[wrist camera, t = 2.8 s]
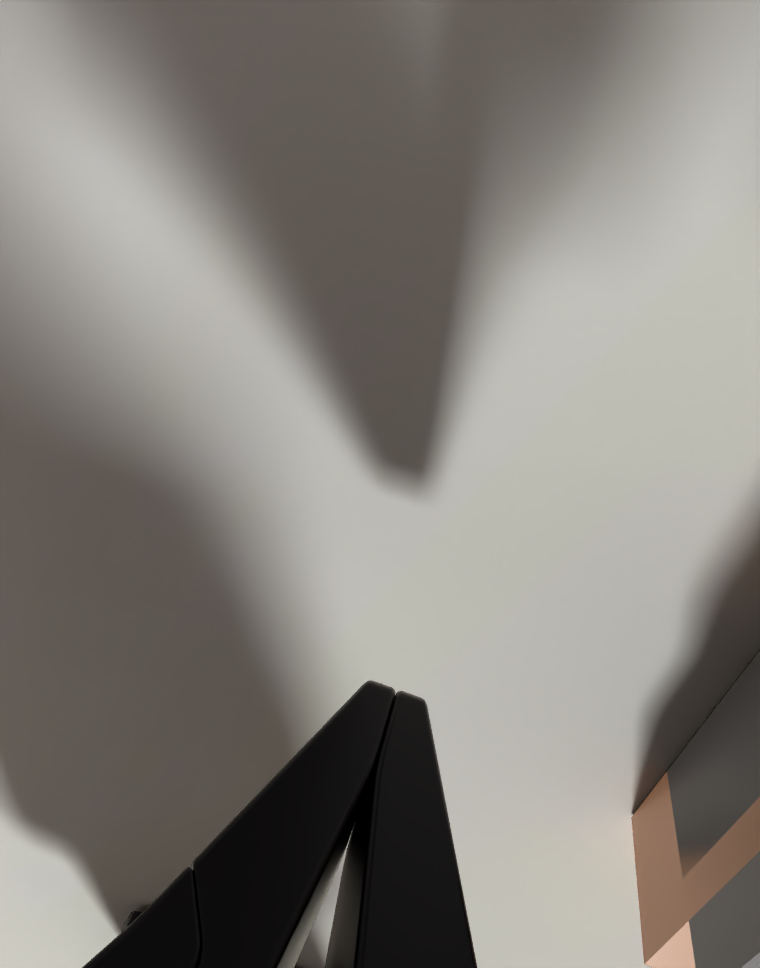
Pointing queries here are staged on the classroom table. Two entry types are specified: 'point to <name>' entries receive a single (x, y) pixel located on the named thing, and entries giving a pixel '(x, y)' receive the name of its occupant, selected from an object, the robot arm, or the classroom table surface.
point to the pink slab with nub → (705, 843)
